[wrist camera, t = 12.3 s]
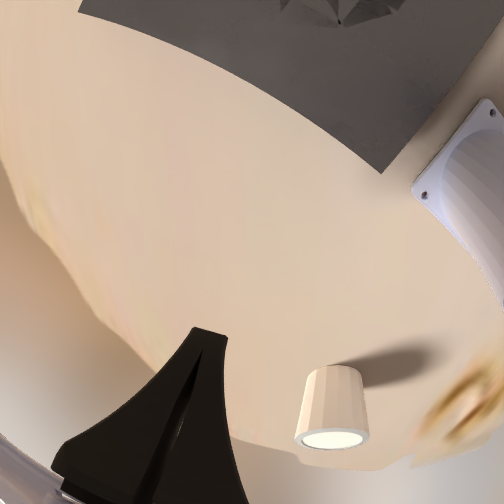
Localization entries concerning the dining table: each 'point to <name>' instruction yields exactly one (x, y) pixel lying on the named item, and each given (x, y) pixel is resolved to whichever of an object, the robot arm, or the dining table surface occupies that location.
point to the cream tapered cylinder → (333, 410)
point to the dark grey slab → (329, 55)
